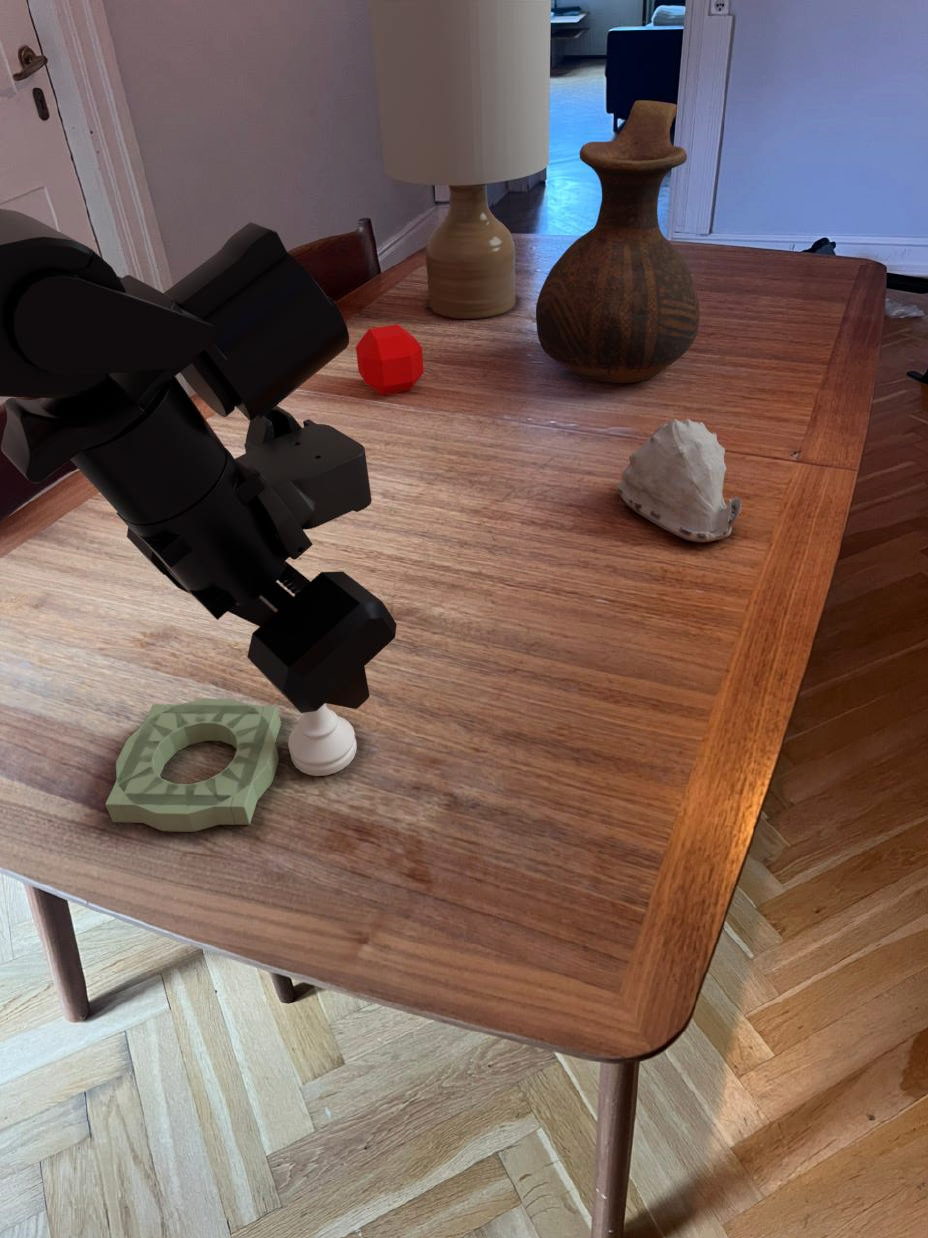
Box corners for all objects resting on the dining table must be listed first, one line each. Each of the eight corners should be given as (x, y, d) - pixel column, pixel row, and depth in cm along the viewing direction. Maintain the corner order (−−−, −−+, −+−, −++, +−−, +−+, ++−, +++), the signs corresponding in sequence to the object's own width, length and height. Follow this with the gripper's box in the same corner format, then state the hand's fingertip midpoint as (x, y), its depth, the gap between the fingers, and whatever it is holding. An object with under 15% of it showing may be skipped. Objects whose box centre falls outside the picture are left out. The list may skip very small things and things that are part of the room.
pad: (99, 830, 63) (91, 812, 61) (153, 715, 71) (147, 697, 70) (257, 833, 62) (251, 815, 60) (292, 717, 71) (287, 699, 69)
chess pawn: (321, 719, 70) (303, 632, 65) (370, 744, 68) (356, 656, 62) (277, 760, 67) (254, 672, 61) (327, 787, 65) (308, 698, 59)
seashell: (711, 557, 85) (726, 465, 79) (598, 506, 93) (603, 418, 87) (779, 507, 91) (798, 418, 85) (668, 463, 99) (677, 379, 93)
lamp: (385, 290, 150) (355, -14, 123) (521, 272, 153) (520, -26, 127) (413, 341, 131) (385, -4, 105) (567, 320, 135) (576, -18, 109)
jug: (729, 375, 117) (768, 118, 98) (590, 413, 110) (603, 144, 91) (634, 324, 132) (651, 94, 114) (507, 354, 126) (504, 115, 107)
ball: (413, 370, 123) (408, 316, 118) (429, 393, 117) (425, 337, 112) (357, 380, 121) (350, 325, 116) (370, 404, 115) (363, 347, 110)
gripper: (417, 437, 37) (516, 645, 49) (212, 324, 49) (332, 514, 60) (214, 615, 35) (369, 789, 46) (48, 452, 46) (207, 624, 58)
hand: (318, 661), depth 53 cm, fingers open, 9 cm apart
